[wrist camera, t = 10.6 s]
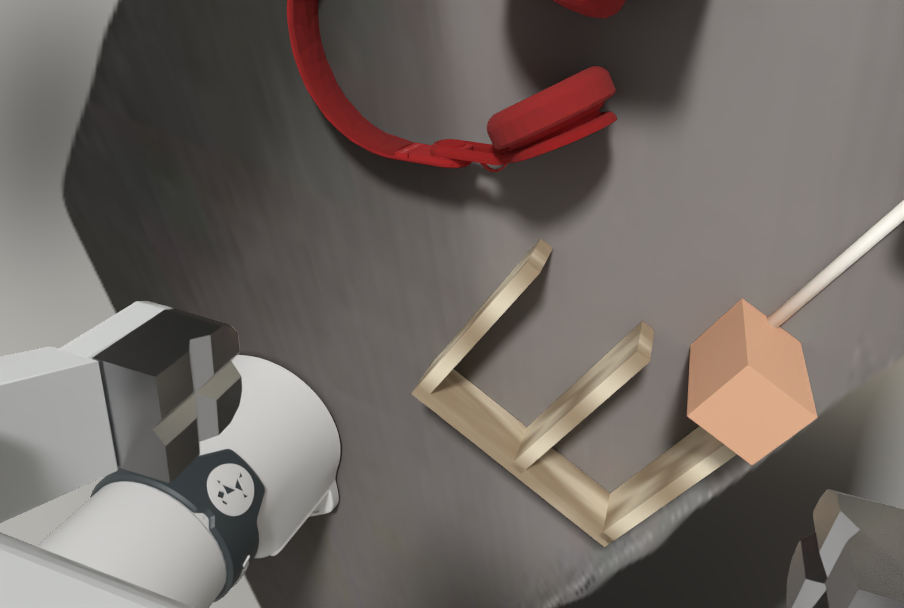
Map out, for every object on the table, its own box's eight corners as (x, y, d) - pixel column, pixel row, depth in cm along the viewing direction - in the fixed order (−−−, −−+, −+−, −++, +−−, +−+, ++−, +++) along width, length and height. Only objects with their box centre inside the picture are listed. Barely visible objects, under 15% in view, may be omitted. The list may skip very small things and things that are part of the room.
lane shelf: (611, 508, 53) (604, 547, 49) (430, 364, 52) (411, 393, 49) (748, 407, 46) (751, 444, 42) (540, 238, 45) (527, 262, 42)
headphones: (662, -121, 34) (325, -116, 42) (627, -135, 29) (245, -126, 36) (622, 173, 41) (339, 130, 49) (587, 209, 35) (273, 154, 43)
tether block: (745, 387, 45) (751, 465, 38) (690, 345, 45) (686, 416, 38) (1014, 168, 35) (1085, 221, 28) (943, 114, 35) (999, 154, 28)
